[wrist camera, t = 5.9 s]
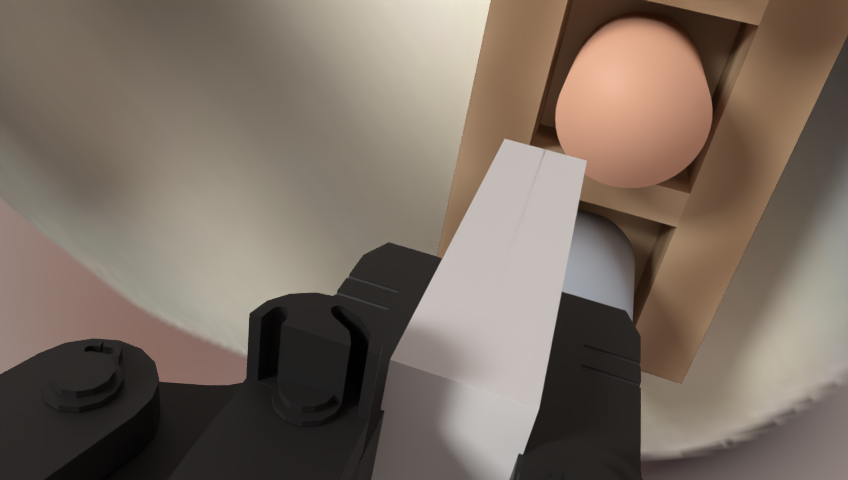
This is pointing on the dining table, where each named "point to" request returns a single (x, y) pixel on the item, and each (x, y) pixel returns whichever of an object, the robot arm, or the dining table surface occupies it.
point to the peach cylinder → (635, 101)
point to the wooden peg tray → (702, 179)
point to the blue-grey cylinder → (600, 263)
